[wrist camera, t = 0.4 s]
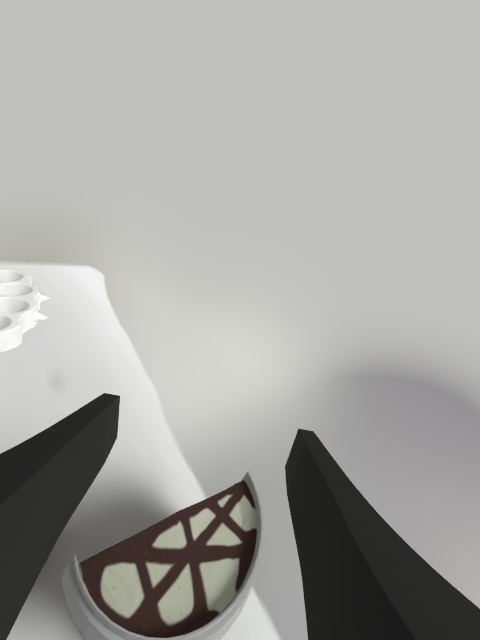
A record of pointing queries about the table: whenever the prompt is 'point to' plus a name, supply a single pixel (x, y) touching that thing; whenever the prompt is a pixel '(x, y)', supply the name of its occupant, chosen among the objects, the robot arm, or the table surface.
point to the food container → (172, 574)
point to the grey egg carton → (17, 307)
